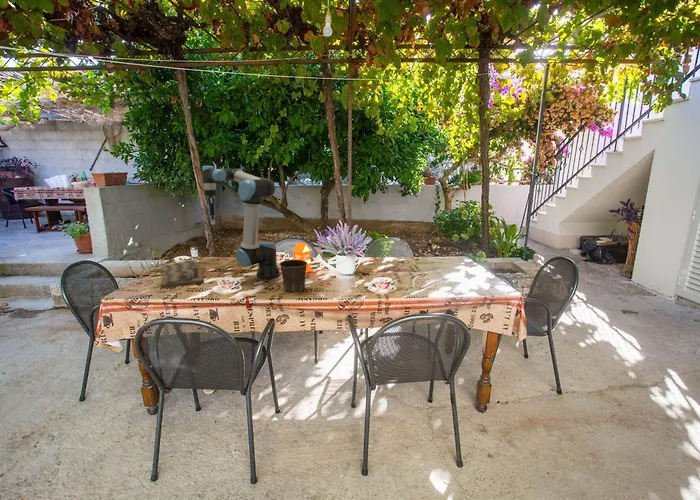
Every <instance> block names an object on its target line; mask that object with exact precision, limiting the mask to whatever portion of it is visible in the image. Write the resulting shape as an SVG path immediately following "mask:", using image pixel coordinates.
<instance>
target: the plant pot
mask: <svg viewBox="0 0 700 500" xmlns="http://www.w3.org/2000/svg"><path fill="white" fill-rule="evenodd" d="M279 266H280V267H279V268H280V271H281V276H282V283H283V290H284V291H285V292H287V293H299V292H301V291H304V290H305V285H306V284H305V282H306V274H307V272H306V266H307V262H306V261H303V260H294V259H289V260H283V261H280V263H279Z"/></svg>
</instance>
